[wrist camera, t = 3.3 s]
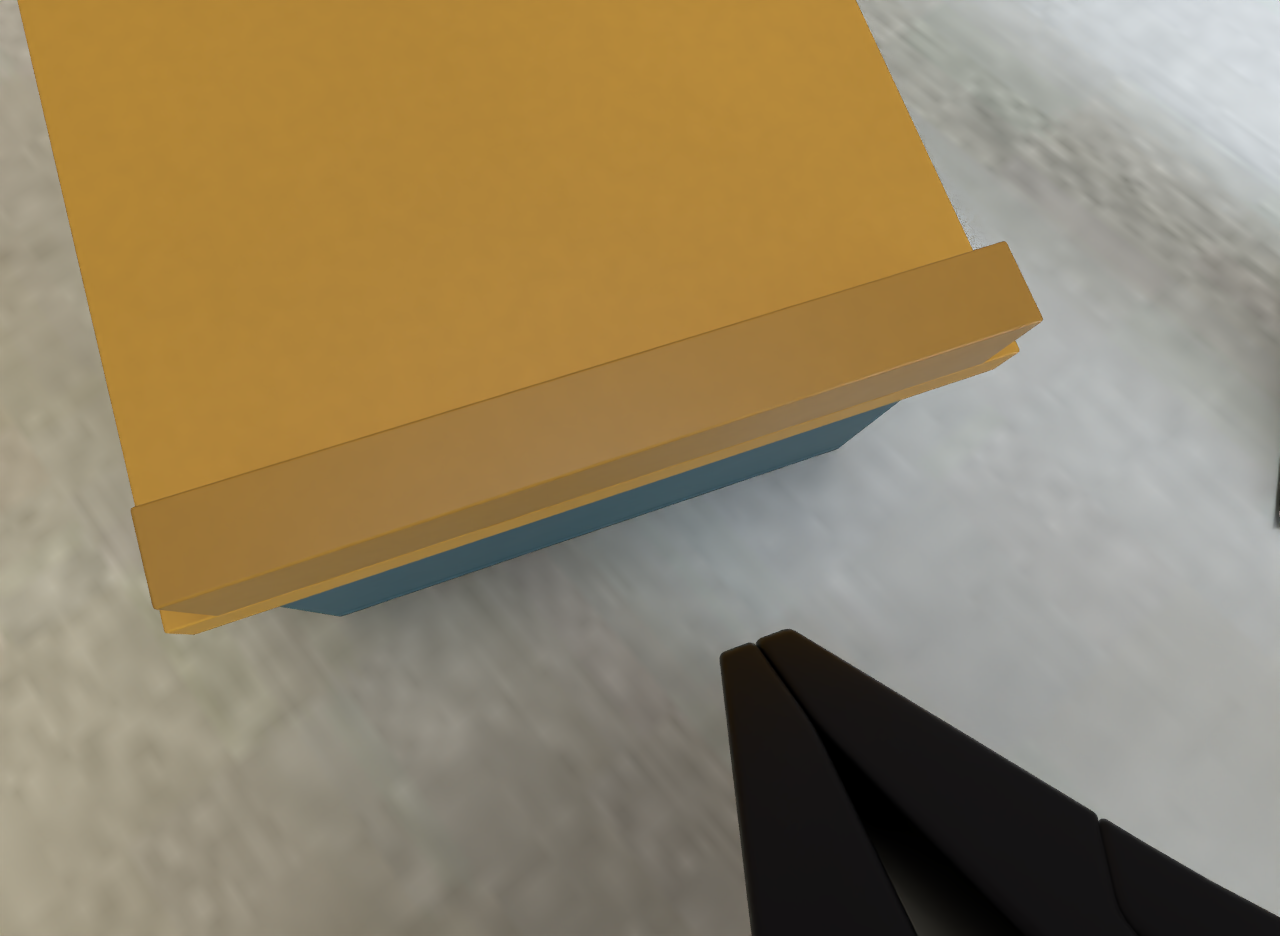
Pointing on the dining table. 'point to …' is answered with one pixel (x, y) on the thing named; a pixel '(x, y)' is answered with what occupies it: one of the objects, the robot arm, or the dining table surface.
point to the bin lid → (483, 262)
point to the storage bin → (584, 519)
